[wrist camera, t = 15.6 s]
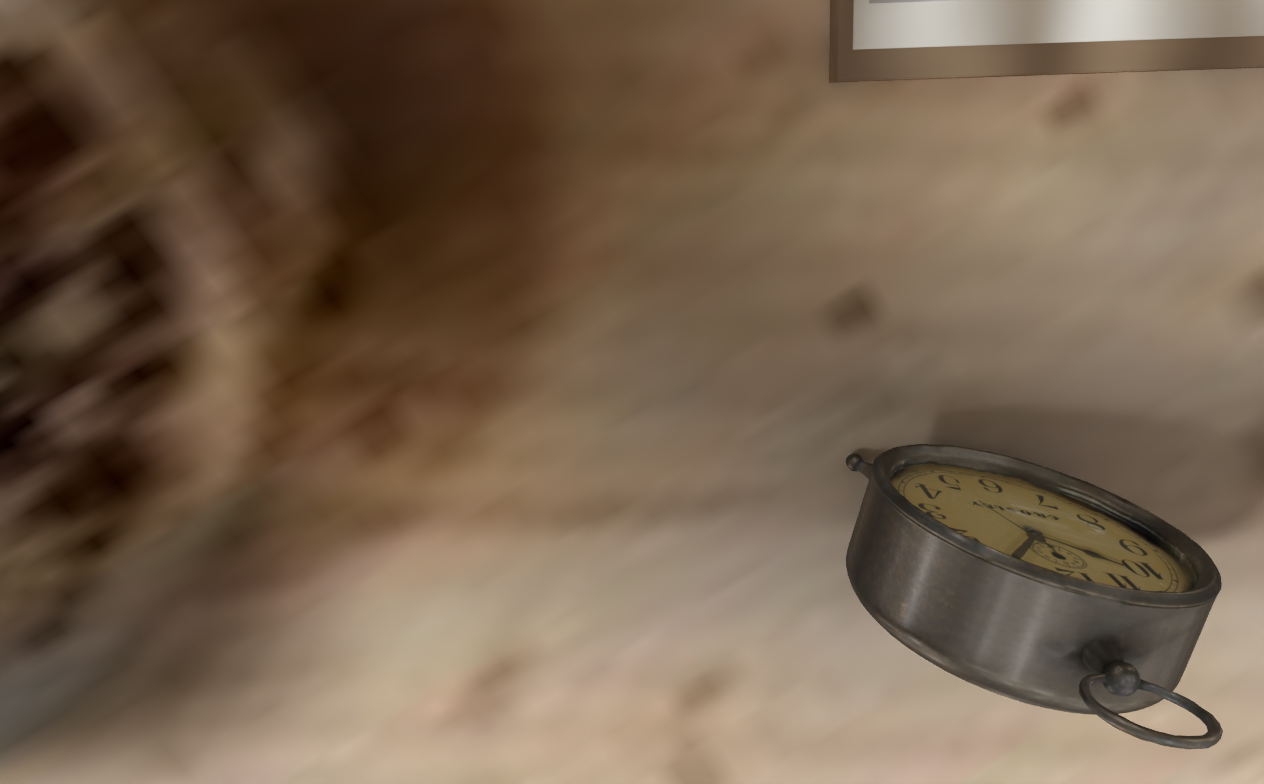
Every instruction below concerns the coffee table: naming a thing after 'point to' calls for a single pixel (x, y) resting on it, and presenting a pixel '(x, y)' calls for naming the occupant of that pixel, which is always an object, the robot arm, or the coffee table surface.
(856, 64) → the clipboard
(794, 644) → the coffee table surface
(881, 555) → the alarm clock
